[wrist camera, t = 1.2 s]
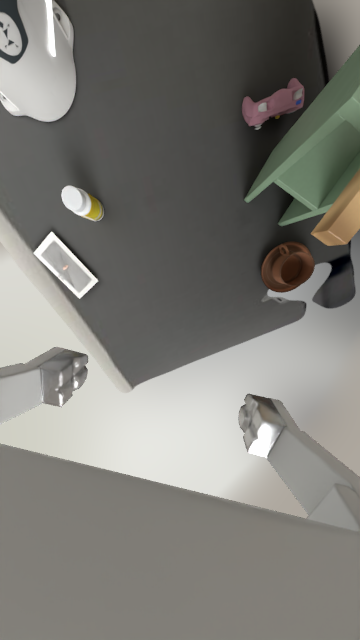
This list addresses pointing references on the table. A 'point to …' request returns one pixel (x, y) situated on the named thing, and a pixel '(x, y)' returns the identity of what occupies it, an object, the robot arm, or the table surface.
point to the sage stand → (318, 148)
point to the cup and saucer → (287, 267)
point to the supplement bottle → (82, 203)
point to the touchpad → (65, 265)
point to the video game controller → (274, 104)
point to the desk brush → (341, 216)
